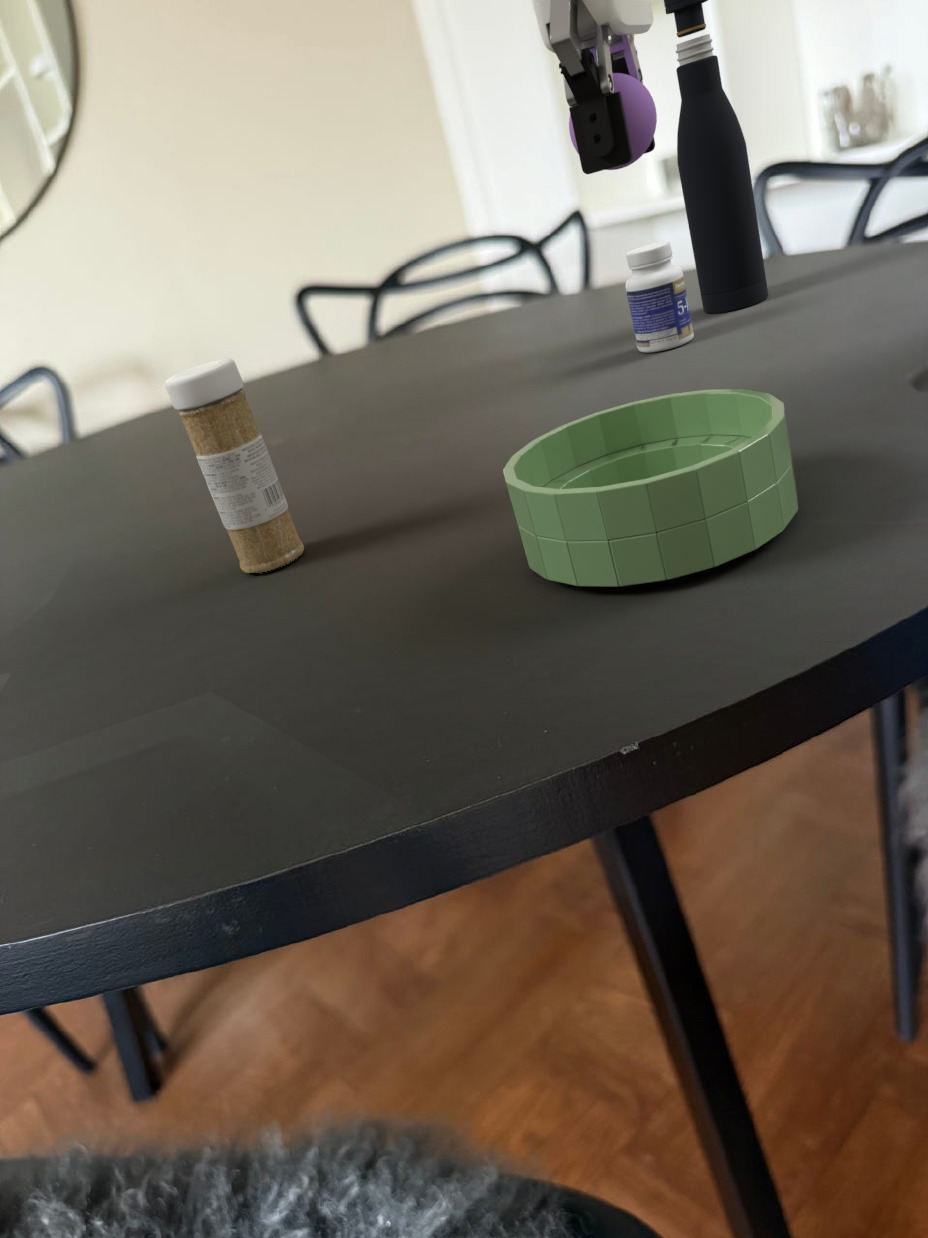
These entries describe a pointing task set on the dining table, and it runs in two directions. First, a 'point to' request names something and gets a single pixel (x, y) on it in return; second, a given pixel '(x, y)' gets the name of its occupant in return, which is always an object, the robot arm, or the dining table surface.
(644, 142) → the ball
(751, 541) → the bowl
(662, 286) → the pill bottle
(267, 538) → the spice jar
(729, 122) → the black water bottle
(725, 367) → the dining table surface
